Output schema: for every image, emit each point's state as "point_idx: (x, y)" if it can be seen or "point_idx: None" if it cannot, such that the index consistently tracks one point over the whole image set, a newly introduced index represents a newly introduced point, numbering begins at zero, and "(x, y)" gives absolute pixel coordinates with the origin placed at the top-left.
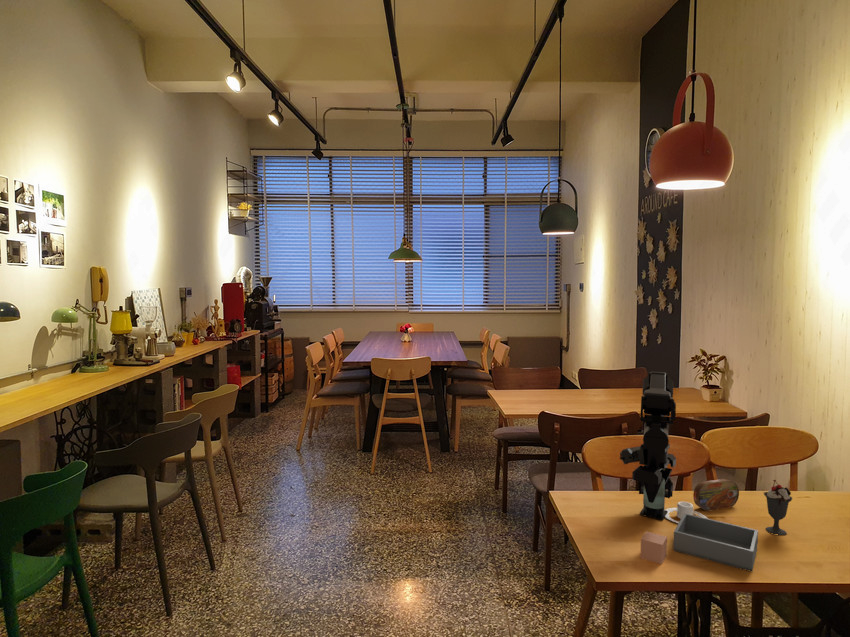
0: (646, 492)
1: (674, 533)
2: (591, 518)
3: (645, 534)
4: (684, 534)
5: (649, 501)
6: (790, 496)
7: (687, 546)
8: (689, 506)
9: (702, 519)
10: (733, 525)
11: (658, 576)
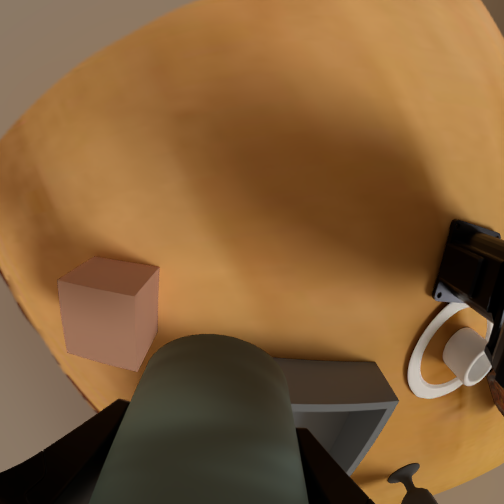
0: (59, 442)
1: None
2: (346, 39)
3: (103, 295)
4: None
5: (117, 405)
6: None
7: None
8: (478, 370)
9: (365, 440)
10: None
11: (38, 308)
